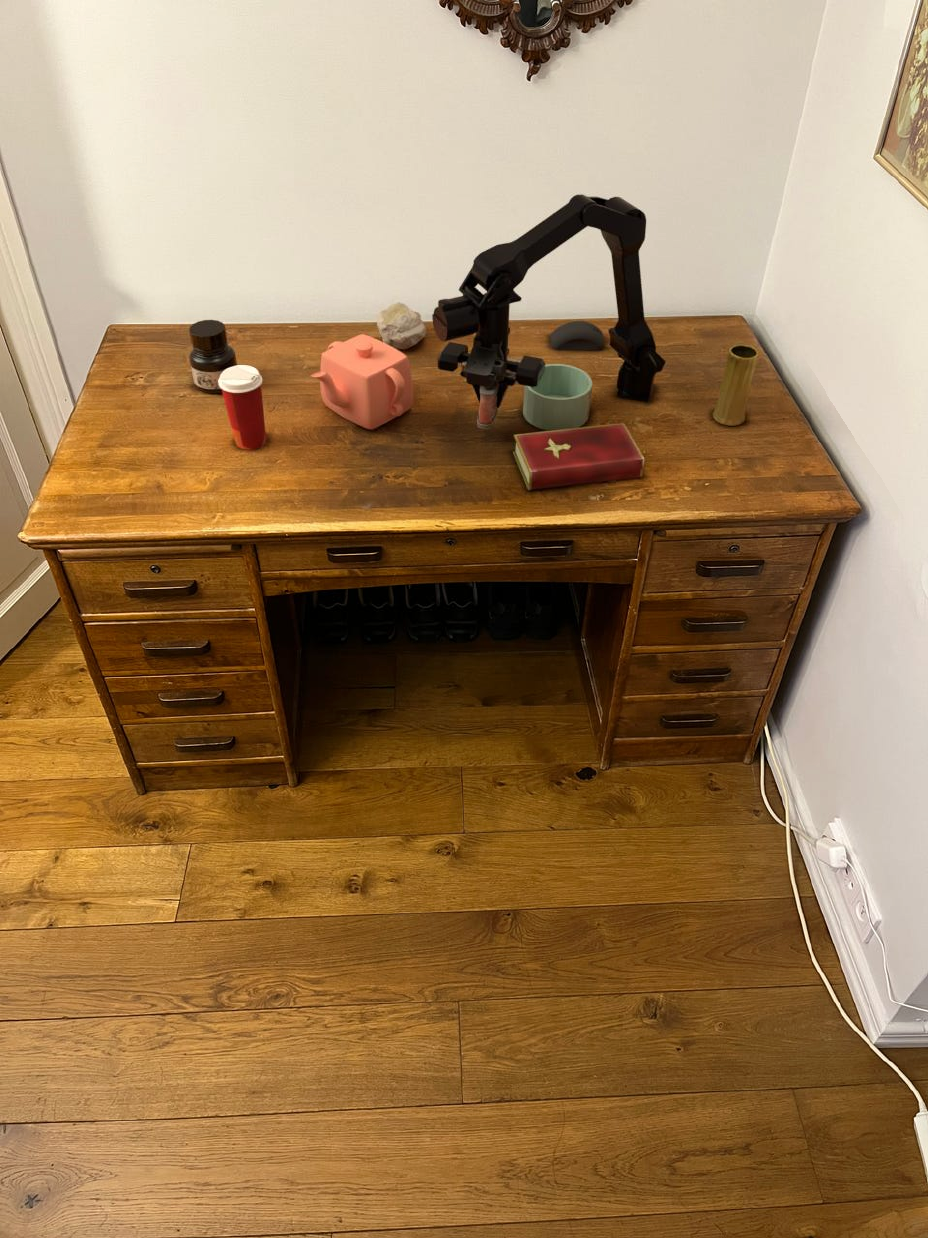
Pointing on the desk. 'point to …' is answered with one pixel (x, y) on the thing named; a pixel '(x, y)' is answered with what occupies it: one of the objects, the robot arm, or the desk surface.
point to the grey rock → (400, 326)
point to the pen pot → (558, 398)
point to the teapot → (365, 381)
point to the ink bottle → (210, 354)
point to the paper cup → (244, 405)
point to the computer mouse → (577, 337)
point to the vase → (735, 385)
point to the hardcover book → (578, 456)
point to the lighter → (488, 406)
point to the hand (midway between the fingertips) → (490, 404)
